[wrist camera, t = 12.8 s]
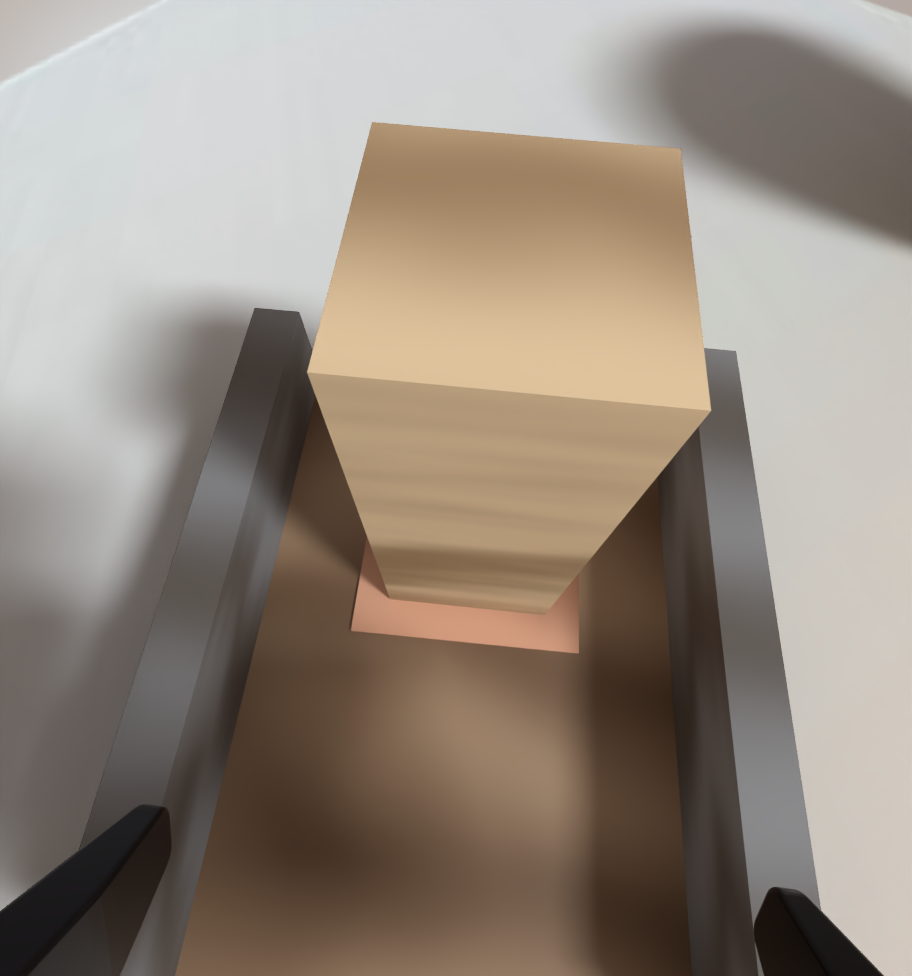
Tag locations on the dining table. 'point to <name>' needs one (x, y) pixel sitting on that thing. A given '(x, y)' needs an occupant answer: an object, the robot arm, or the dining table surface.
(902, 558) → the dining table surface
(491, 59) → the dining table surface
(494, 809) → the bay
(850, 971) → the robot arm
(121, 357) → the dining table surface
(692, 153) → the dining table surface
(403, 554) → the oak block
